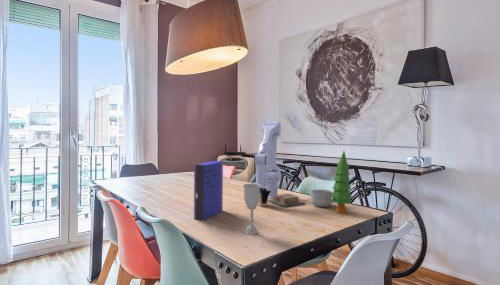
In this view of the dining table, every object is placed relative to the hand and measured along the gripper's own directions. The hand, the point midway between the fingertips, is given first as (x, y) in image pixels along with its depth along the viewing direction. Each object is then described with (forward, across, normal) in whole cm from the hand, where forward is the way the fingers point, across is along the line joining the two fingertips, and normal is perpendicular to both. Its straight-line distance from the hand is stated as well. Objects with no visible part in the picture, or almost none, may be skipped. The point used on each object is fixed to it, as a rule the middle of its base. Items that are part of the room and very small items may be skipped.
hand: (261, 202), depth 157 cm
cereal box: (+2, +4, -31) cm, 31 cm away
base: (+1, +3, +14) cm, 14 cm away
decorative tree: (+2, +30, +26) cm, 40 cm away
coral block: (+1, 0, 0) cm, 1 cm away
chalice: (+2, +34, -26) cm, 43 cm away
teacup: (+2, +17, +28) cm, 33 cm away
